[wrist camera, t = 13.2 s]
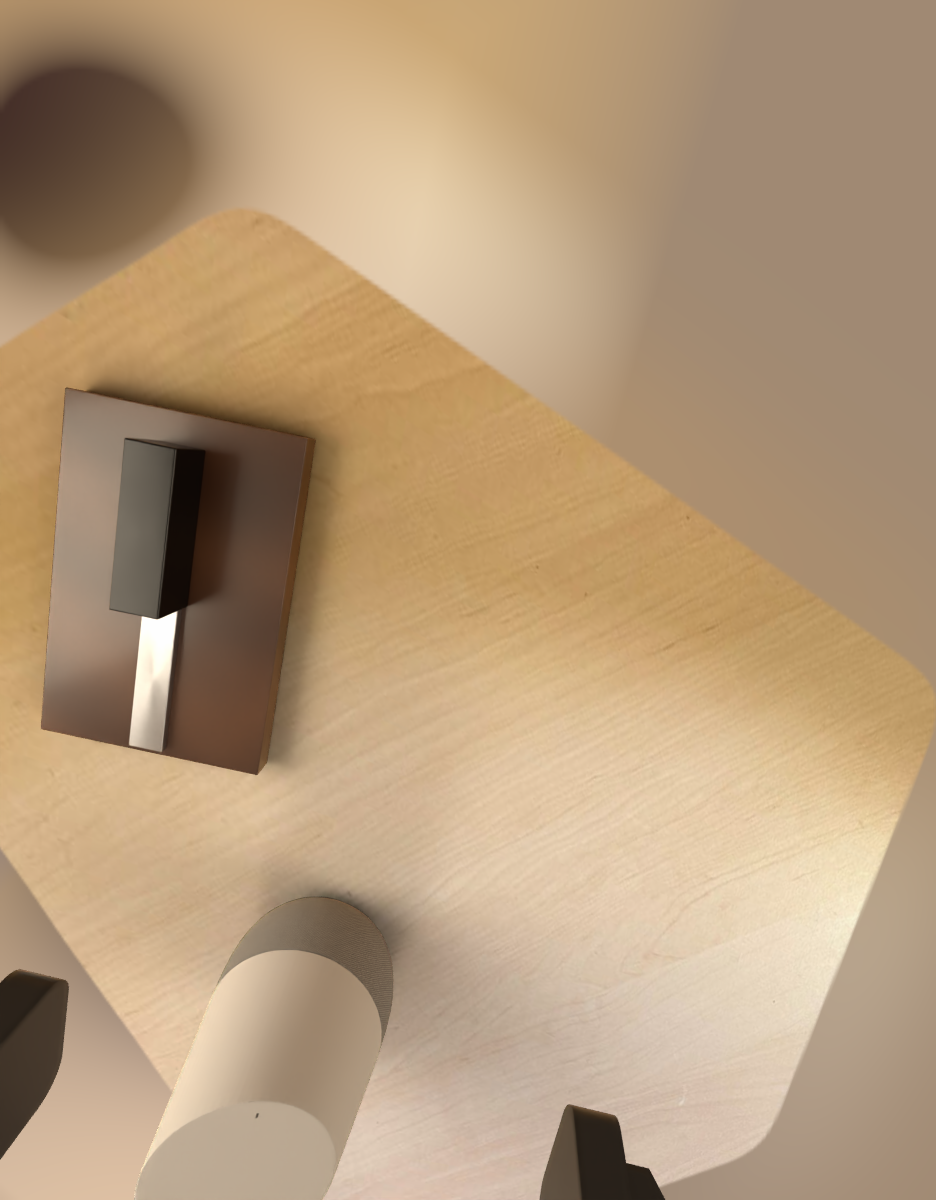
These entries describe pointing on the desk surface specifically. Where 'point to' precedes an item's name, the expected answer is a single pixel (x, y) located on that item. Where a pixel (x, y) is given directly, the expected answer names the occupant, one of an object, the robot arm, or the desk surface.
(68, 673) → the board
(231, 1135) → the smart speaker
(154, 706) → the knife
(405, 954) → the desk surface
